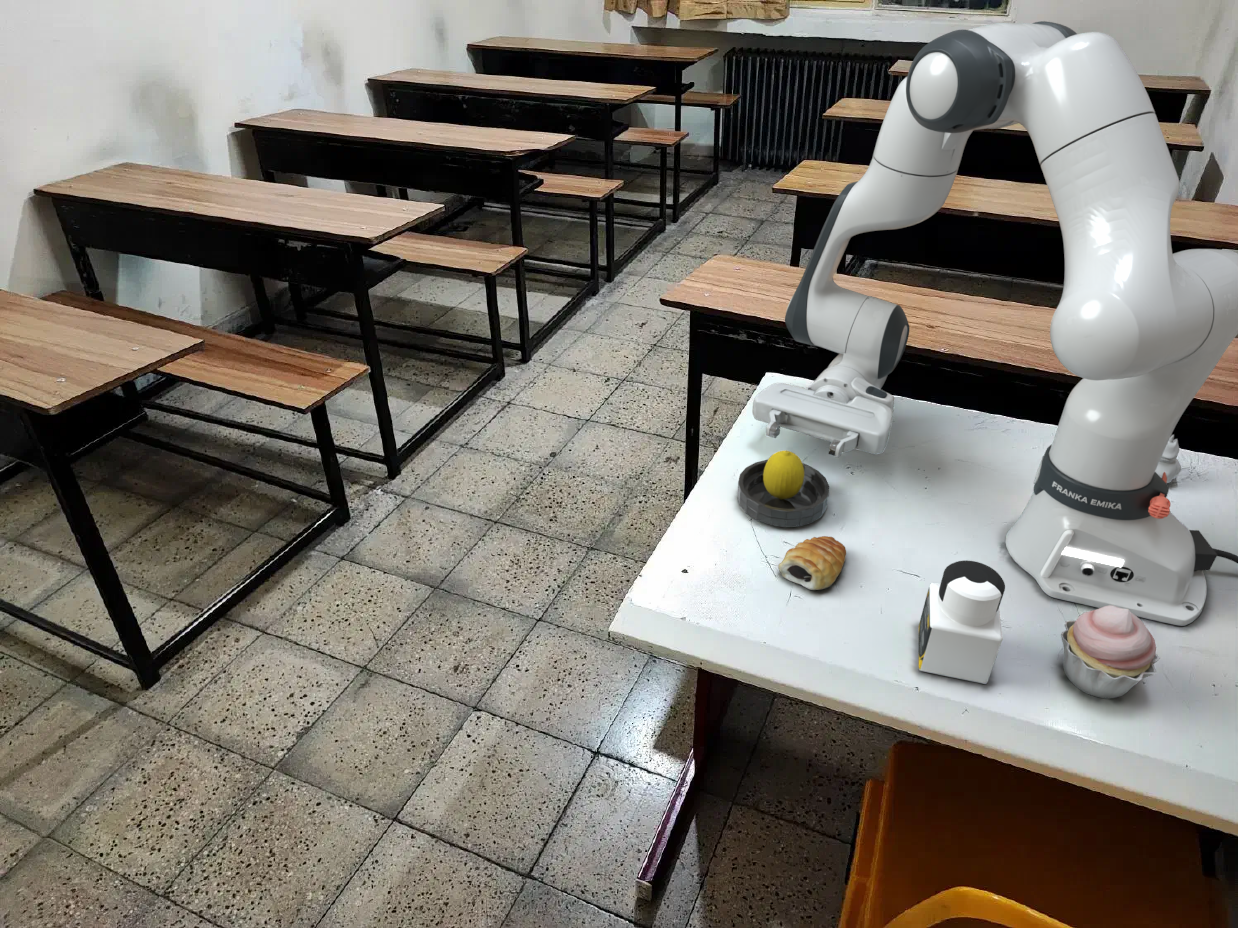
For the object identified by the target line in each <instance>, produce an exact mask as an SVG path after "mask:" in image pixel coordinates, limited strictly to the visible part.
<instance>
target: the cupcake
mask: <svg viewBox="0 0 1238 928" xmlns="http://www.w3.org/2000/svg"><path fill="white" fill-rule="evenodd" d="M1064 629H1065V630H1063V631H1061V633H1060V638H1061V642H1062V647H1063V663H1062V665H1063V670H1064V674H1065V676H1066V678H1067V679H1068V680H1069V681H1070V683H1072V685H1073V686H1075V687H1076V688H1077V689H1079V690H1080V691H1081V692H1084V693H1086V694H1087V695H1090V696H1092V697H1096V698H1101V699H1107V700H1109V699H1117V698H1120V697H1122V696H1124V695H1125V694H1126V693H1127V692H1129V691H1130V690H1131V689H1132V688H1133V687H1134V686H1135V685H1136V684H1138V683H1139V682H1140V681H1141V680H1143V679H1146V678H1148V677H1151V676H1153V675H1156V674H1157V673H1158V672H1157V668H1156V667H1155V664H1156V663H1157V662H1158V661H1160V659H1161V657H1160V656H1159V654H1157V644H1156V640H1155V638H1154V636H1153V635H1152V633H1151V631H1149V629H1148V628H1147V626H1146V625H1145V623H1144V622H1143V621H1142V619H1140V617H1138V616H1136V615H1134V614H1132V613H1131V612H1130V611H1129V609H1122V608H1119V607H1117V606H1113V605H1109V606H1104V607H1102V608H1097V609H1092V610H1089V611H1085V612H1083V613H1082V614H1080V615H1079V616H1078V617H1077V618H1076V619H1074V620H1073V619H1072V620H1071V619H1070V620H1069V619H1068V620H1065V621H1064Z"/></svg>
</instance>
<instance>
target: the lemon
mask: <svg viewBox="0 0 1238 928" xmlns="http://www.w3.org/2000/svg"><path fill="white" fill-rule="evenodd" d="M767 460H768V461H767V463H766V465H765V468H764V473H763V480H764V485H765V487H766V489H767V491H768V492H769V493H770V494H771V495H772V496H774V497H776V498H779V499H787V498H790V497H793V496H794V495H796V494H797V493H798V492H799V490H800V489H801V487H802V484H803V480H804V467H803V464H802V463H803V462H802V459H801V457H799V455H797V454H796V453H795V452H792V451H790V450H779V451H776V452H774V453H773V454H771V455H770V457H768V458H767Z"/></svg>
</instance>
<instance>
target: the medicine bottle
mask: <svg viewBox="0 0 1238 928" xmlns="http://www.w3.org/2000/svg"><path fill="white" fill-rule="evenodd" d="M940 581H941V582H940V583H936V582H931V583H929V586H928V589H927V593H926V596H925V601H924V604H923V607H922V611H921V615H920V619H919V623H918V670H919V671H920V672H924V673H929V674H934V675H939V676H944V677H949V678H954V679H958V680H964V681H967V682H968V681H969V682H974V683H979V684H982V685H983V684H984V685H986V684H987V683H988V682H989V680H990V676H991V674H992V671H993V668H994V666H995V662H996V660H997V657H998V654H999V651H1000V649H1001V646H1002V642H1003V640H1004V639H1003V638H1004V637H1003V630H1002V621H1001V613H1000V611H1001V610H1000V606H1001V603H1002V600H1003V596H1004V595H1005V591H1006V583H1005V581H1004V579H1003V577H1002V576H1001V575H1000V574H999V572H997V570H995V569H993V567H991V566H989V565H987V564H984V563H982V562H979V561H976V560H975V561H974V560H958V561H955V562H953V563H950V564H948V565H947V566H946V567H945V568H944V570H943V574H942V578H941V580H940Z"/></svg>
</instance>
